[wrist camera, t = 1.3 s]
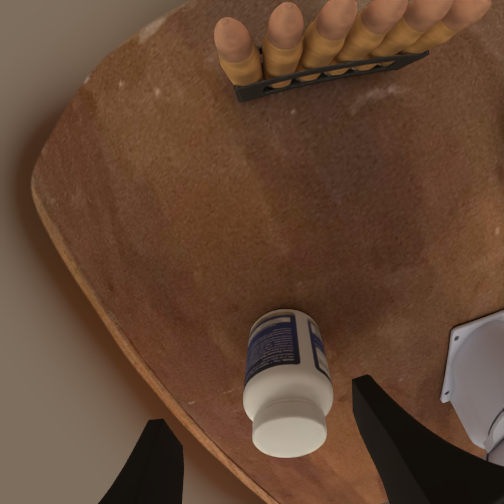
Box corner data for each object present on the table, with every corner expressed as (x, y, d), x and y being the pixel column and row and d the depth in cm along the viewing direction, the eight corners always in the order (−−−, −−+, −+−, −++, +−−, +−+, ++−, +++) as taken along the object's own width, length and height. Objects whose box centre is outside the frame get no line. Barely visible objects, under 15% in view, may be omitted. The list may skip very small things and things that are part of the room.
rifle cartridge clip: (239, 103, 18) (199, 61, 7) (231, 76, 18) (182, 6, 7) (398, 69, 17) (516, 25, 6) (390, 43, 16) (497, -21, 5)
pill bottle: (239, 352, 25) (225, 453, 16) (263, 296, 23) (259, 396, 14) (302, 370, 25) (311, 469, 16) (332, 319, 23) (359, 418, 14)
